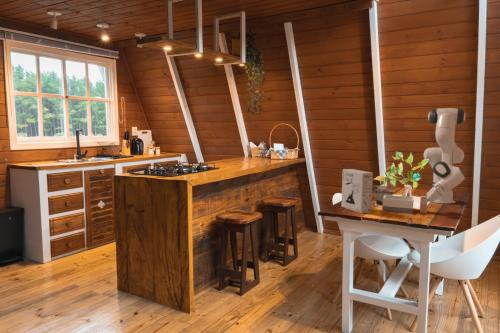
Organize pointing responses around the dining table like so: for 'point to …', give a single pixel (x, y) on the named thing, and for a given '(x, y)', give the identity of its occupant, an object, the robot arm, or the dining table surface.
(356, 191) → the cereal box
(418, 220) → the dining table surface
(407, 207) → the socket box
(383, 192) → the food container
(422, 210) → the peg
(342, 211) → the dining table surface
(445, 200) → the robot arm
